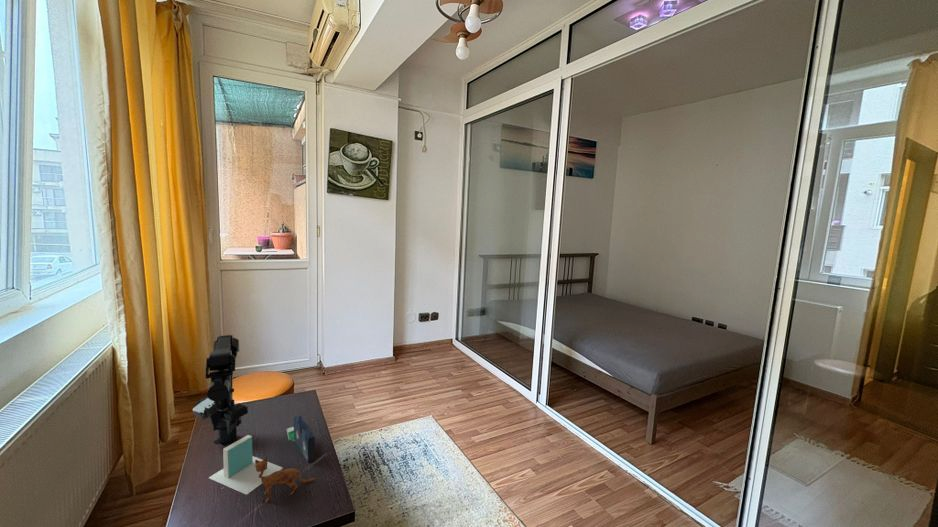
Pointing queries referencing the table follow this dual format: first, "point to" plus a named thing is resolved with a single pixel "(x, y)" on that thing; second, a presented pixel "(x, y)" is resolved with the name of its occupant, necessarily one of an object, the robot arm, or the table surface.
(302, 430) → the vhs cassette tape
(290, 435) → the smartphone
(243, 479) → the mat
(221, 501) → the table surface
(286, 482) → the cat figurine
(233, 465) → the tile
